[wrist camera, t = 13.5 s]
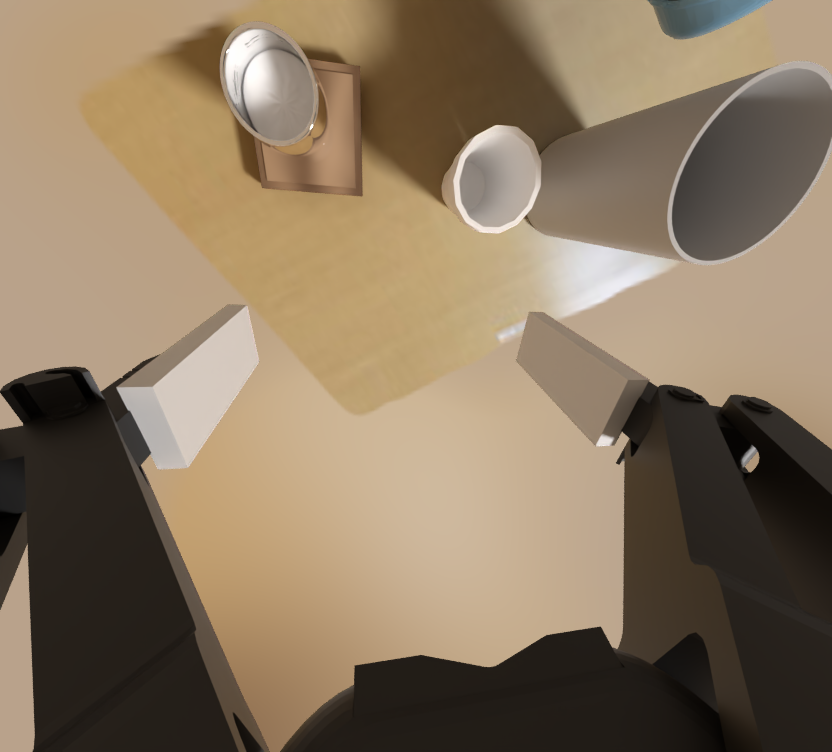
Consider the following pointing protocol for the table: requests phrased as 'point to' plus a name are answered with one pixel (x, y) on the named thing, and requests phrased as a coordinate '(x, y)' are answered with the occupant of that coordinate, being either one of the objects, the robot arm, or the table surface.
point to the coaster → (346, 155)
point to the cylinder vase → (693, 169)
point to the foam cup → (493, 179)
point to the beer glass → (276, 92)
